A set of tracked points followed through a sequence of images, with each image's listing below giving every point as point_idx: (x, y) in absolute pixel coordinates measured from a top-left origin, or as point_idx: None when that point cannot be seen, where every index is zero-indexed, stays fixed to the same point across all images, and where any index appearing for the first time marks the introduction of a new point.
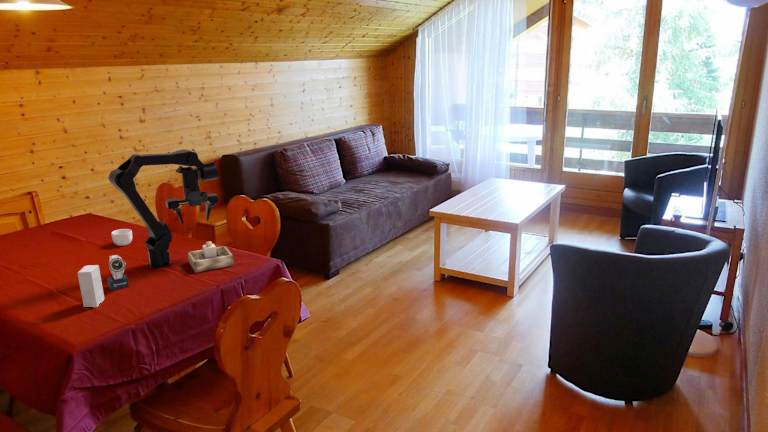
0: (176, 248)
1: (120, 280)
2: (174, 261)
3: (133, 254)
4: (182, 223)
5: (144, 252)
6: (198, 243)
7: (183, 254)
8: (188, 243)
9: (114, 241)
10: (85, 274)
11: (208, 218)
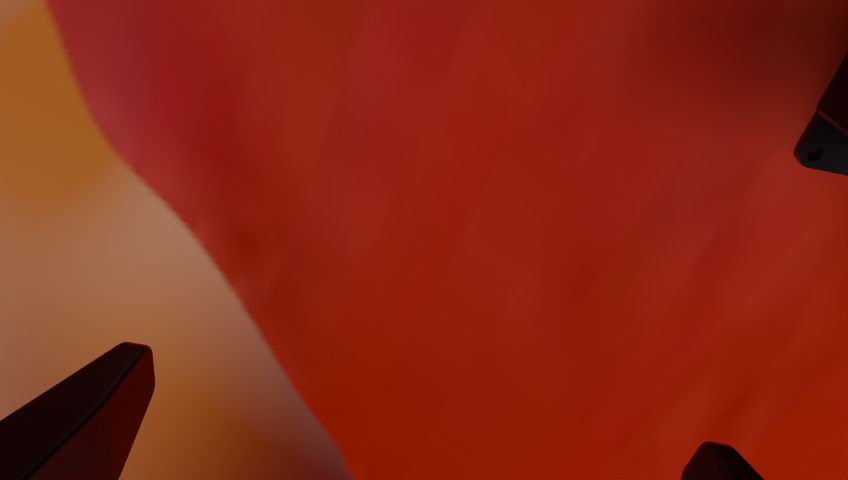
0: (531, 379)
1: None
2: (760, 72)
3: (844, 453)
4: (741, 464)
5: (762, 443)
6: (331, 373)
7: (566, 212)
8: (400, 416)
9: None
10: None
11: (72, 379)
